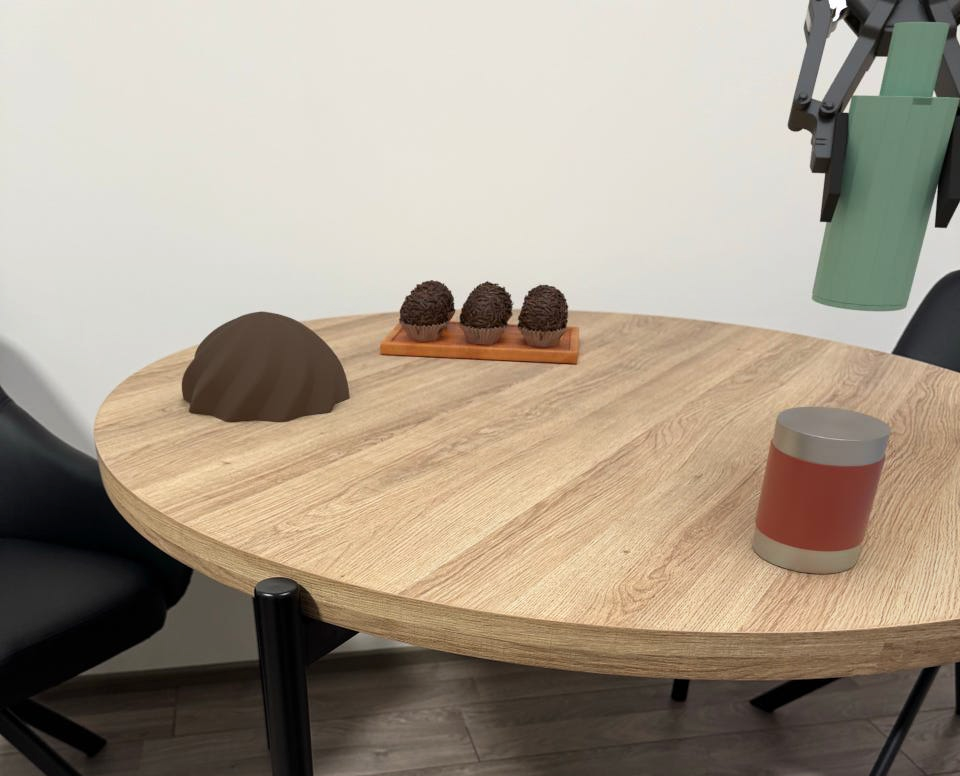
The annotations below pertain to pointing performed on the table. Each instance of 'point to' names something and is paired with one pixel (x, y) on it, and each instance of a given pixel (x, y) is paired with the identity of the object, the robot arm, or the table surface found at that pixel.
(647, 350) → the table surface
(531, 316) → the chocolate truffle
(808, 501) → the can
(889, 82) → the bottle
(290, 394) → the decorative dome
